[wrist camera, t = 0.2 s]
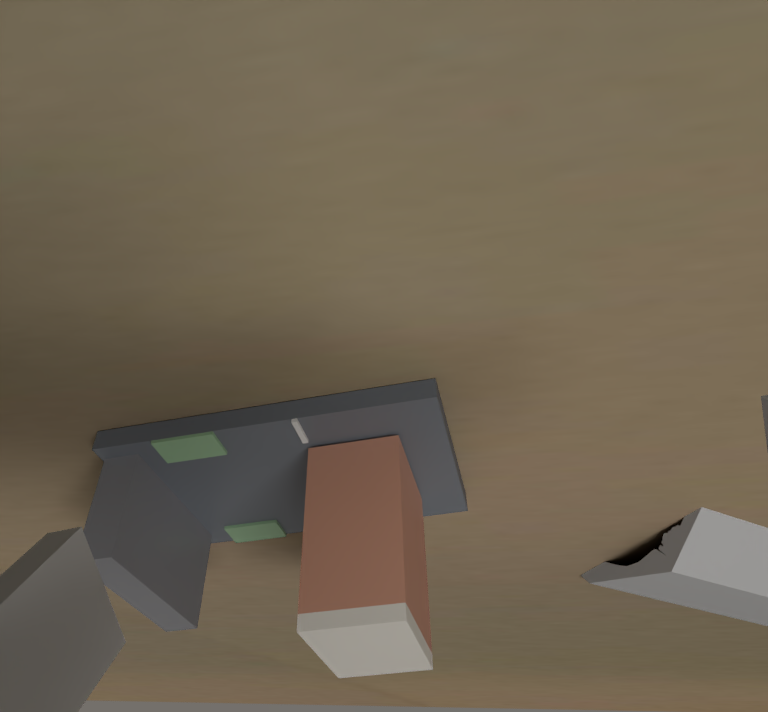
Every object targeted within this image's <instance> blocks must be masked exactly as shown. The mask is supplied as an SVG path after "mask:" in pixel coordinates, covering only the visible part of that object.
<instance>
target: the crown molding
mask: <svg viewBox="0 0 768 712" xmlns="http://www.w3.org/2000/svg"><path fill="white" fill-rule="evenodd" d="M683 518H684V519H683V521H682V523H681V525H677V526H676V527H672V529H671V530H670V531H668V533H664V534H663V537H662V539H663V541H661V543H662V544H663V546H662V545H660V546H659V548H658V549H659V550H657V549H654V550H652V551H651V552H650V553H649V554H648V555H646V556H645V557H644V558H643V559H642V560H640V561H639V562H637V563H634V564H632V565H629V566H621V565H616V564H612V563H608V562H603V563H601V564H600V565H598V566H596V567H594V568H593V569H591V570H589V571H587V572H585V573H584V574H582V575H581V576H582V577H583V578H584V579H585V580H586V581H588V582H589V583H591V584H595V585H599V586H603V587H607V588H611V589H616V590H620V591H624V592H628V593H632V594H636V595H641V596H645V597H649V598H653V599H657V600H661V601H666V602H670V603H674V604H678V605H682V606H686V607H691V608H695V609H699V610H703V611H707V612H711V613H716V614H720V615H724V616H728V617H732V618H736V619H741V620H745V621H749V622H753V623H757V624H761V625H766V626H768V528H766V527H763V526H760V525H756V524H753V523H750V522H747V521H744V520H741V519H738V518H734V517H731V516H728V515H725V514H722V513H719V512H716V511H712V510H709V509H706V508H703V507H701V508H699V509H697V510H696V511H694V512H692V513H690V514H689V515H687V516H685V517H683Z"/></svg>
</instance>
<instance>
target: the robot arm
mask: <svg viewBox="0 0 768 712" xmlns="http://www.w3.org/2000/svg"><path fill="white" fill-rule="evenodd" d="M761 400H762V409H763V417H764V426H765V434H766V442H767V451H768V395H764V396H761ZM125 643H126V641H125V639H124V636H123V633H122V631H121V628H120V626H119V623H118V620H117V618H116V615H115V613H114V610H113V607H112V605H111V602H110V600H109V597H108V594H107V592H106V589H105V587H104V584H103V581H102V579H101V576H100V573H99V571H98V568H97V566H96V563H95V560H94V558H93V555H92V553H91V550H90V547H89V545H88V542H87V540H86V537H85V534H84V532H83V529H82V527H77V528H72V529H67V530H62V531H57V532H51V533H47V534H46V535H45V536H44V537H43V538H42V539H41V540H39V541H38V542H37V543H36V544H35V545H34V546H33V547H32V548H31V549H29V550H28V551H27V552H26V553H25V554H24V555H23V556H22V557H20V558H19V559H18V560H17V561H16V562H15V563H14V564H13V565H12V566H10V567H9V568H8V569H7V570H6V571H5V572H4V573H3V574H1V575H0V712H78V711H79V710H80V708H81V707H82V705H83V704H84V702H85V701H86V700H87V698H88V697H89V695H90V694H91V692H92V691H93V689H94V688H95V686H96V685H97V684H98V682H99V681H100V679H101V678H102V676H103V675H104V673H105V672H106V670H107V669H108V668H109V666H110V665H111V663H112V662H113V660H114V659H115V657H116V656H117V654H118V653H119V652H120V650H121V649H122V647H123V646H124V644H125Z"/></svg>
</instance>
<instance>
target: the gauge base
mask: <svg viewBox="0 0 768 712" xmlns="http://www.w3.org/2000/svg"><path fill="white" fill-rule="evenodd" d="M395 435H399V438H400V440H401V443H402V446H403V449H404V451H405V454H406V457H407V460H408V462H409V465H410V468H411V471H412V473H413V476H414V479H415V482H416V484H417V487H418V490H419V493H420V495H421V498H422V508H423V516H431V515H438V514H446V513H454V512H462V511H468V509H467V500H466V493H465V489H464V485H463V481H462V478H461V474H460V470H459V466H458V462H457V459H456V455H455V451H454V447H453V443H452V440H451V436H450V432H449V428H448V424H447V421H446V417H445V413H444V409H443V405H442V402H441V398H440V394H439V390H438V386H437V383H436V379H435V378H434V379H428V380H422V381H415V382H409V383H403V384H396V385H390V386H384V387H377V388H371V389H365V390H358V391H352V392H346V393H339V394H333V395H326V396H320V397H314V398H307V399H301V400H295V401H288V402H282V403H276V404H269V405H263V406H257V407H250V408H244V409H238V410H231V411H225V412H219V413H212V414H206V415H200V416H193V417H187V418H181V419H174V420H168V421H161V422H155V423H149V424H142V425H136V426H130V427H123V428H117V429H111V430H104V431H98V432H97V435H96V438H95V442H94V445H93V448H92V450H93V451H94V452H95V453H96V454H97V455H98V456H99V457H100V458H101V459H102V460H103V461H104V464H103V467H102V470H101V474H100V477H99V480H98V484H97V487H96V491H95V494H94V497H93V501H92V504H91V507H90V511H89V514H88V517H87V521H86V524H85V527H84V531H83V532H84V534H85V537H86V540H87V542H88V545H89V547H90V550H91V553H92V555H93V558H94V560H95V563H96V566H97V568H98V571H99V573H100V576H101V579H102V581H103V584H104V585H105V586H107V587H108V588H109V589H111V590H112V591H113V592H115V593H116V594H117V595H119V596H120V597H121V598H122V599H124V600H125V601H126V602H128V603H129V604H130V605H132V606H133V607H134V608H136V609H137V610H138V611H140V612H141V613H142V614H144V615H145V616H146V617H148V618H149V619H150V620H151V621H153V622H154V623H155V624H157V625H158V626H159V627H161V628H162V629H163V630H165V631H166V632H167V631H177V630H186V629H195V628H197V626H198V620H199V613H200V607H201V601H202V595H203V588H204V582H205V576H206V570H207V563H208V557H209V551H210V545H211V543H218V542H225V541H233V540H234V541H235V542H236V543H239V542H247V541H255V540H263V539H271V538H279V537H286V534H289V533H296V532H303V526H304V510H305V494H306V479H307V463H308V448H313V447H320V446H327V445H334V444H341V443H347V442H354V441H361V440H368V439H375V438H382V437H389V436H395Z"/></svg>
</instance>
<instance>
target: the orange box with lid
mask: <svg viewBox="0 0 768 712" xmlns="http://www.w3.org/2000/svg"><path fill="white" fill-rule="evenodd" d="M297 633H298V634H299V635H300V636H301V637H302V638H303V639H304V641H305V642H306V643H307V644H308V645H309V646H310V647H311V648H312V649H313V650H314V652H315V653H316V654H317V655H318V656H319V657H320V658H321V659H322V660H323V661H324V663H325V664H326V665H327V666H328V667H329V668H330V669H331V670H332V671H333V672H334V674H335V675H336V676H337V677H338V678H346V677H357V676H368V675H379V674H390V673H401V672H411V671H422V670H433V661H432V646H431V630H430V615H429V600H428V585H427V569H426V554H425V539H424V523H423V508H422V498H421V495H420V493H419V490H418V487H417V484H416V482H415V479H414V476H413V473H412V471H411V468H410V465H409V462H408V460H407V457H406V454H405V451H404V449H403V446H402V443H401V440H400V438H399V435H395V436H389V437H382V438H375V439H368V440H361V441H354V442H347V443H341V444H334V445H327V446H320V447H313V448H308V463H307V479H306V494H305V510H304V526H303V542H302V557H301V573H300V589H299V604H298V620H297Z"/></svg>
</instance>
